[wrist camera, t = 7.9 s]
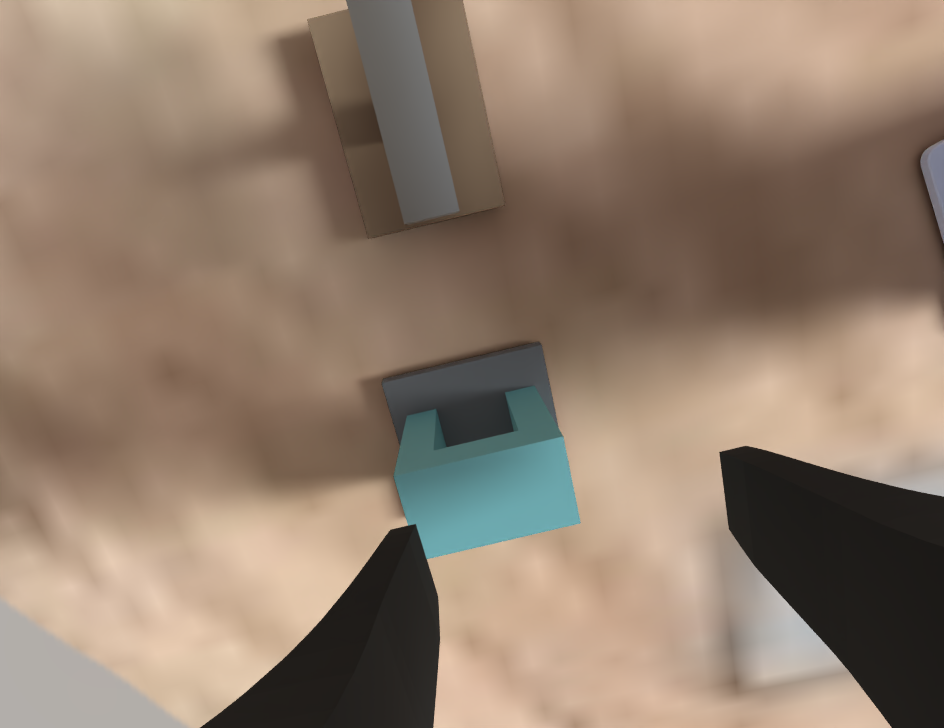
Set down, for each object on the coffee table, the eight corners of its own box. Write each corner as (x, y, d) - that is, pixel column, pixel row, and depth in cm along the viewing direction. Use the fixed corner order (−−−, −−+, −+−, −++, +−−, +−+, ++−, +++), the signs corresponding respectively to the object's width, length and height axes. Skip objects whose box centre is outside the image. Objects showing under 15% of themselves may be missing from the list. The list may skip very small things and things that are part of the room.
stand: (458, -5, 17) (464, -147, 11) (502, 206, 19) (530, 193, 13) (314, 31, 17) (235, -89, 11) (372, 238, 19) (333, 241, 13)
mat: (538, 341, 20) (541, 344, 20) (568, 482, 22) (571, 489, 21) (383, 378, 20) (381, 383, 20) (423, 516, 22) (423, 524, 22)
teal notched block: (534, 385, 20) (563, 436, 15) (548, 453, 21) (580, 523, 16) (407, 415, 20) (393, 476, 15) (425, 482, 21) (419, 560, 16)
